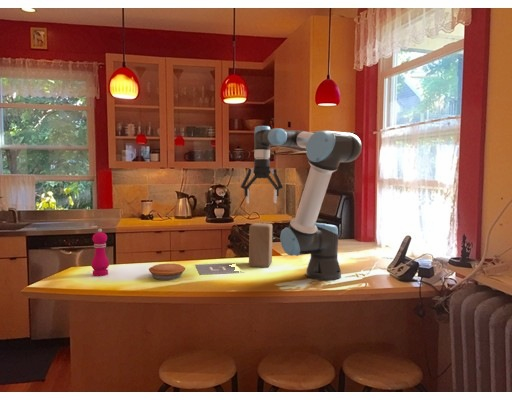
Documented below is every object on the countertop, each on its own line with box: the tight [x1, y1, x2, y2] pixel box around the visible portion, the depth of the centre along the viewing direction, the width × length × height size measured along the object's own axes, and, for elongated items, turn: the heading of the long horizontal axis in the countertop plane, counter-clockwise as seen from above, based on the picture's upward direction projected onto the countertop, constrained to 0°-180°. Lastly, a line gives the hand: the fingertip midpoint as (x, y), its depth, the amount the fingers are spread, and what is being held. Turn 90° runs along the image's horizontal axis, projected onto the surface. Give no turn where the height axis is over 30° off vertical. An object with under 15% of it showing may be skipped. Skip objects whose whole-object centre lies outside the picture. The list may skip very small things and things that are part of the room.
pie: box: [148, 263, 186, 281], centre depth 182 cm, size 15×16×5 cm
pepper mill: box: [90, 228, 110, 277], centre depth 183 cm, size 7×7×20 cm
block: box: [248, 222, 273, 268], centre depth 206 cm, size 10×10×20 cm
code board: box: [195, 262, 240, 276], centre depth 198 cm, size 20×20×1 cm
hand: (261, 203), depth 205 cm, fingers open, 13 cm apart
